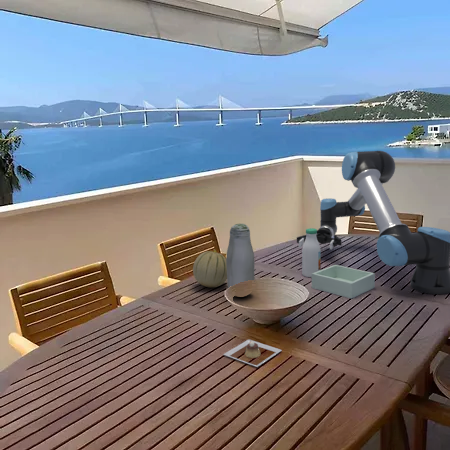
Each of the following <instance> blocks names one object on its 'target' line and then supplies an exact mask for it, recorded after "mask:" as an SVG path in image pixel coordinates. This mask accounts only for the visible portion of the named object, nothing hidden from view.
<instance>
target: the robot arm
mask: <svg viewBox="0 0 450 450" xmlns="http://www.w3.org/2000/svg"><path fill="white" fill-rule="evenodd" d="M395 171H396V162H395V159H394V157H393V156H392V155H391V154H390V153H388V152H387V151H383V150H369V151H352V152H347V153H346V155H344V157H343V160H342V163H341V174H342V178H343V179H344V181H351V183H352V185H353V187H354V188H356V190H355V191H354V193H353V194H352V195H351V197H350V198H349V199H348V200H347V201H337V200H336V198H323V199H321V201H320V225H319V228H318V229H317V235H316V237H317V240H318V242H319V244H320V245H321V244H322V245H326V244H329V250H333V248H334V247H336V246H342V239H341V238H340V237H338V235H336V234H337V230H338V225H337V218H345V217H346V218H348V217H358V216H363V215H364V213H365V211H366V206H367V209H368V211H369V212H370V215H371V217H372V219H373V221H374V223H375V225H376V228H377V229H378V231H379V235H378V236H377V238H378V239H377V241H376V252H377V254H378V257H379V259H380V260H381V262H383V263H384V264H385V265H386V266H390V267H403V266H408V265H411V266H412V265H416V266H415V269H414V272H413V274H412V277H411V278H410V288H412V289H413V290H414V291H417V292H419V293H425V294H430V295H431V294H432V295H445V294H450V231H448V230H446V229H442V228H436V227H430V226H429V227H428V226H420V227H418V228H417V232H412V231H411V230H410V228H409V226H408V225H407V224H405V223H402V221H401V220H400V218H399V215H398V214H397V212H396V210H395V208H394V205H393V204H392V202H391V200H390V198H389V196H388V194H387V192H386V189H385V188H384V186H383V184H387V183H388V182H389V181H391V179H392V177H393V176H394V174H395ZM365 205H366V206H365ZM305 239H306V234H304V235H300V236H297V237H296V243H297V244H298V248H303V244H304V242H305Z"/></svg>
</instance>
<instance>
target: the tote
mask: <svg viewBox="0 0 450 450" xmlns="http://www.w3.org/2000/svg"><path fill="white" fill-rule="evenodd" d="M375 277H376V273H375V272H371V271H366V270H361V269H356V268H352V267H348V266H343V265H340V264H339V265H338V264H333V265H331V266H328V267H326V268H323V269H321V270H320V271H317V272H315V273H312V277H311V289H314V290H318V291H322V292H326V293H329V294H333V295H337V296H340V297H344V298H348V299H354V298H356V297H358V296H360V295H363V294H364V293H366V292H368V291H371V290H373V289H375V282H376V281H375V279H376V278H375Z"/></svg>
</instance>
